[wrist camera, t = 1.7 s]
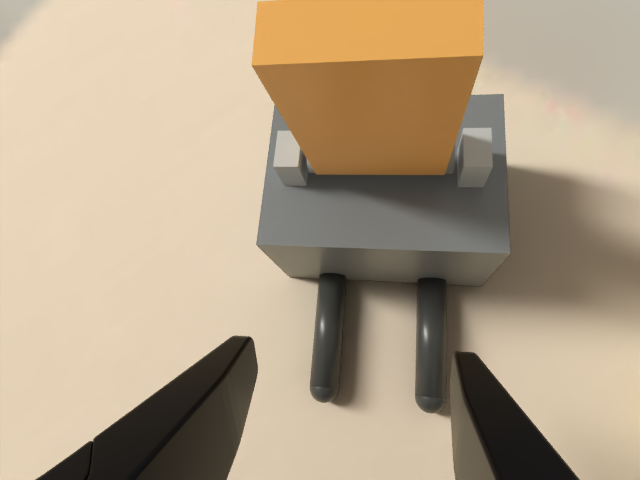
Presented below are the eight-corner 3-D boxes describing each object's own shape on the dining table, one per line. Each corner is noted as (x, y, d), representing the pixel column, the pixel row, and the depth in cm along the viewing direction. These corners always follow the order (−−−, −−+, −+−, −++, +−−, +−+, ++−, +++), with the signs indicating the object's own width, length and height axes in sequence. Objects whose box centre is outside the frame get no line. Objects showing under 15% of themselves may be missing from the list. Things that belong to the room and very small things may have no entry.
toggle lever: (450, 180, 18) (498, 55, 9) (312, 179, 19) (239, 65, 10) (451, 142, 18) (498, -15, 9) (314, 143, 19) (245, 3, 10)
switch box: (484, 417, 21) (533, 437, 13) (276, 397, 22) (217, 404, 15) (478, 160, 24) (513, 65, 17) (301, 161, 26) (264, 75, 19)
